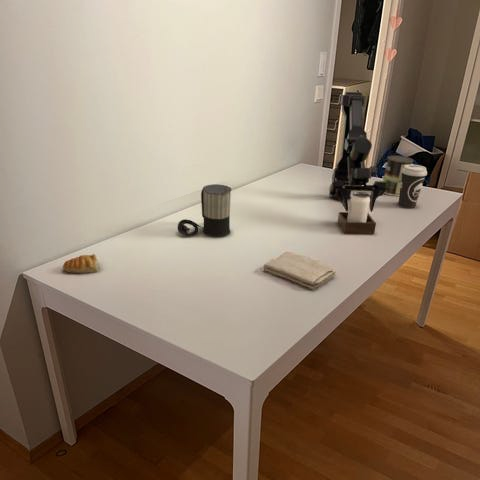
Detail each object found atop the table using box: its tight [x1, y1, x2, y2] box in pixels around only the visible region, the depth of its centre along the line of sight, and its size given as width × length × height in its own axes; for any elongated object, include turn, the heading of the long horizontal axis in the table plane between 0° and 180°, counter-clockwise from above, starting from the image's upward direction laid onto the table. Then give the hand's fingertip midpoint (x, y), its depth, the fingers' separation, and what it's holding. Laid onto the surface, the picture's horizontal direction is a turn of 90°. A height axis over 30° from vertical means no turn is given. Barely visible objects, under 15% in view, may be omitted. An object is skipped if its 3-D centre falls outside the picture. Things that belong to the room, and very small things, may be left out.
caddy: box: [337, 211, 377, 235], centre depth 164 cm, size 10×10×4 cm
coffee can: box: [382, 155, 414, 197], centre depth 198 cm, size 10×10×14 cm
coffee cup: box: [398, 164, 428, 209], centre depth 184 cm, size 10×10×15 cm
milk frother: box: [177, 183, 232, 238], centre depth 153 cm, size 14×16×15 cm
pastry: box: [62, 253, 99, 274], centre depth 131 cm, size 9×7×4 cm
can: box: [347, 191, 371, 222], centre depth 162 cm, size 6×6×12 cm
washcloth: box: [262, 251, 336, 291], centre depth 133 cm, size 12×18×3 cm, turn 51°
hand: (359, 211), depth 160 cm, fingers open, 8 cm apart
